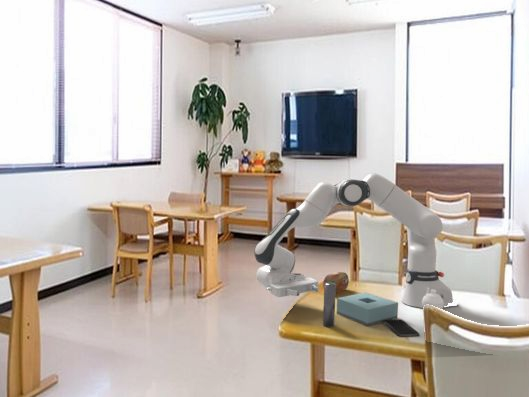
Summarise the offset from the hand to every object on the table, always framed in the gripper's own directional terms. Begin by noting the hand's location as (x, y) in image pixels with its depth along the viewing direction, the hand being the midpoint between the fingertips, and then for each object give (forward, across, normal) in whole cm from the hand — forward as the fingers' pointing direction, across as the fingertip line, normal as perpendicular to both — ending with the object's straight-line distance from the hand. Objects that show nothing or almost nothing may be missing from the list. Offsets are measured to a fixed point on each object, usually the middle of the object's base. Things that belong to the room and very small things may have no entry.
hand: (307, 292), depth 187 cm
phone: (+28, +19, +10) cm, 35 cm away
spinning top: (+29, +35, +9) cm, 47 cm away
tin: (-19, +33, +9) cm, 39 cm away
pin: (+12, 0, +9) cm, 15 cm away
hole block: (+12, +20, +9) cm, 25 cm away
